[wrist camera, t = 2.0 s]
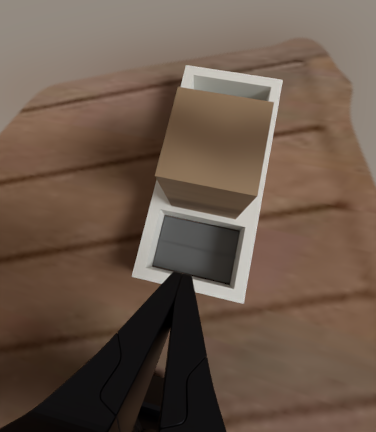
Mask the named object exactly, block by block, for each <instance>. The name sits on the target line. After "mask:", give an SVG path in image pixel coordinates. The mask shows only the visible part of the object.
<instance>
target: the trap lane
mask: <svg viewBox="0 0 376 432" xmlns="http://www.w3.org/2000/svg"><path fill="white" fill-rule="evenodd" d="M282 82H283V80H280V79H274V78H267V77H261V76H254V75H247V74H241V73H234V72H228V71H221V70H215V69H208V68H201V67H195V66H188V65H186V68H185V72H184V75H183V79H182V83H181V87H183V88H189V89H195V90H202V91H208V92H214V93H220V94H226V95H233V96H239V97H245V98H251V99H257V100H264V101H270V102H274V106H273V112H272V117H271V123H270V128H269V134H268V139H267V145H266V151H265V156H264V162H263V167H262V173H261V179H260V184H259V190H258V195H257V197H256V198H255V199H254V200H253V201H252V202H251V204H250V205H249V206H248V207H247V208H246V209H245V210H244V211H243V212H242V213H241V214H240V215H239V216H238V217H237V218H236V219H231V218H226V217H222V216H217V215H212V214H207V213H203V212H198V211H193V210H188V209H183V208H179V207H174V206H171V204H170V202H169V201H168V199H167V197H166V195H165V193H164V192H163V190H162V188H161V186H160V184H159V183H158V181H157V180H156V184H155V188H154V192H153V196H152V199H151V203H150V207H149V211H148V215H147V219H146V223H145V227H144V230H143V234H142V238H141V242H140V246H139V250H138V254H137V258H136V261H135V265H134V269H133V273H132V277H135V278H139V279H144V280H148V281H152V282H156V283H160V284H162V283H163V282H164V281H165V280H166V279H167V278H168V277H169V276H170V274H171V273H172V272H173V271H169V270H165V269H160V268H156V267H152V265H153V266H157V267H162V268H166V269H170V270H174V271H179V272H183V273H187V274H191V275H196V276H200V277H204V278H208V279H213V280H217V281H221V282H225V283H230V285H228V284H224V283H220V282H215V281H211V280H207V279H203V278H198V277H194V276H192V279H193V284H194V289H195V292H197V293H201V294H205V295H210V296H214V297H218V298H222V299H226V300H230V301H234V302H238V303H243V304H244V299H245V293H246V287H247V282H248V276H249V270H250V264H251V259H252V253H253V247H254V242H255V236H256V230H257V224H258V219H259V213H260V207H261V202H262V196H263V190H264V185H265V179H266V173H267V167H268V162H269V156H270V150H271V145H272V139H273V133H274V127H275V122H276V116H277V110H278V105H279V99H280V93H281V88H282ZM165 215H168V216H173V217H177V218H182V219H187V220H191V221H196V222H201V223H205V224H210V225H215V226H219V227H224V228H229V229H233V230H238V231H240V232H238V231H233V230H229V229H224V228H219V227H215V226H210V225H205V224H201V223H196V222H191V221H187V220H182V219H177V218H173V217H168V216H165ZM164 216H165V218H164ZM163 220H164V222H163ZM162 224H163V226H162ZM161 228H162V230H161ZM160 232H161V234H160ZM238 235H239V238H238ZM159 237H160V238H159ZM237 240H238V243H237ZM157 245H158V246H157ZM236 245H237V248H236ZM156 249H157V250H156ZM235 251H236V254H235ZM155 253H156V255H155ZM154 257H155V259H154ZM153 261H154V263H153ZM233 261H234V264H233ZM232 267H233V270H232ZM231 272H232V275H231ZM230 277H231V280H230Z"/></svg>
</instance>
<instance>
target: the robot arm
mask: <svg viewBox="0 0 376 432" xmlns="http://www.w3.org/2000/svg"><path fill="white" fill-rule="evenodd" d="M169 331H170V336H169V344H168V352H167V360H166V368H165V375H164V378H162V377H158V376H154V375H153V373H154V371H155V368H156V365H157V363H158V360H159V357H160V355H161V352H162V349H163V347H164V344H165V341H166V339H167V336H168V333H169ZM0 432H226V428H225V425H224V422H223V419H222V415H221V412H220V409H219V405H218V402H217V398H216V394H215V391H214V387H213V383H212V378H211V374H210V369H209V364H208V358H207V354H206V348H205V343H204V338H203V332H202V327H201V322H200V316H199V311H198V305H197V300H196V295H195V289H194V284H193V279H192V276H191V275H188V274H182V273H180V272H176V271H174V272H172V273H171V274H170V276H169V277H168V278H167V279H166V280H165V281H164V282H163V283H162V284H161V285H160V286H159V288H158V289H157V290H156V291H155V292H154V293H153V294H152V295H151V296H150V297H149V298H148V299H147V301H146V302H145V303H144V304H143V305H142V306H141V307H140V308H139V309H138V310H137V311H136V312H135V314H134V315H133V316H132V317H131V318H130V319H129V320H128V321H127V322H126V323H125V324H124V325H123V327H122V328H121V329H120V330H119V331H118V334H117V333H116V334H115V335H114V336H113V337H112V338H111V339H110V341H109V342H108V343H107V344H106V345H105V346H104V347H103V348H102V349H101V350H100V351H99V352H98V353H97V354H96V355H95V356H94V357H93V358H91V359H90V360H89V361H88V362H87V363H86V364H85V365H84V366H83V367H82V368H81V369H79V370H78V371H77V372H76V373H75V374H74V375H73V376H71V377H70V378H69V379H68V380H67V381H66V382H65V383H64V384H62V385H61V386H60V387H59V388H58V389H57V390H56V391H55V392H53V393H52V394H51V395H50V396H49V397H48V398H46V399H45V400H44V401H43V402H42V403H40V404H39V405H38V406H36V407H35V408H34V409H32V410H31V411H29V412H28V413H26V414H25V415H23V416H22V417H20V418H18V419H16V420H15V421H13V422H11V423H9V424H8V425H6V426H4V427H2V428H0Z"/></svg>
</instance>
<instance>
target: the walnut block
mask: <svg viewBox="0 0 376 432" xmlns="http://www.w3.org/2000/svg"><path fill="white" fill-rule="evenodd" d="M273 106H274V102H270V101H264V100H257V99H251V98H245V97H239V96H233V95H226V94H220V93H214V92H208V91H202V90H195V89H189V88H183V87H178V88H177V92H176V96H175V100H174V104H173V107H172V111H171V115H170V119H169V123H168V127H167V131H166V134H165V138H164V142H163V146H162V150H161V154H160V157H159V161H158V165H157V169H156V173H155V177H156V179H157V181H158V183H159V184H160V186H161V188H162V190H163V192H164V193H165V195H166V197H167V199H168V201H169V202H170V204H171V206H174V207H179V208H183V209H188V210H193V211H198V212H203V213H207V214H212V215H217V216H222V217H226V218H231V219H236V218H237V217H238V216H239V215H240V214H241V213H242V212H243V211H244V210H245V209H246V208H247V207H248V206H249V205H250V204H251V202H252V201H253V200H254V199H255V198H256V197H257V195H258V190H259V184H260V179H261V173H262V167H263V162H264V156H265V151H266V145H267V139H268V134H269V128H270V123H271V117H272V112H273Z"/></svg>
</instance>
